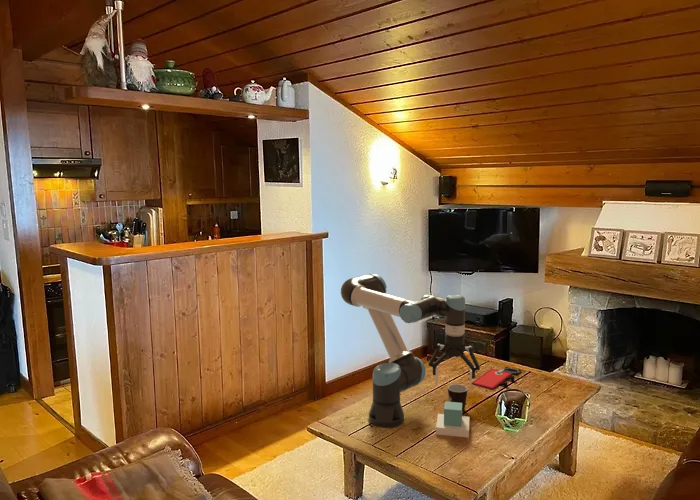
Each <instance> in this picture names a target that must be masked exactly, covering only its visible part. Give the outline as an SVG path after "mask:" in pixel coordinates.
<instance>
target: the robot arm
mask: <svg viewBox="0 0 700 500" xmlns="http://www.w3.org/2000/svg"><path fill="white" fill-rule="evenodd" d="M340 296H341V298H342V300H343V301H344V302H345V303H347V304H348V305H350V306H354V307H357V308H360V307H362V308H363V309H365V310H367V311H368V314H369V316H370V317H371V319H372V322H373V324H374V326H375V329H376V330H377V333H378V335H379V337H380V339H381V342H382V344H383V346H384V348H385V351H386V352H387V355H388V357H389V360H388V362H382V363H380V364H378V365H376V366H375V367H374V369H373V371H372V380H371V381H372V403H371V406H370V408H369V412H368V420H369V422H370V423H371V425H374V426H376V427H380V428H394V427H398V426H401V425H402V424H403V423H404V422H405V412H404V409H403V406H402V404H401V393H402V392H404V391H407V390H409V389H411V388H414V387H416V386H418V385H419V384H421V383H422V382H423V381H424V380H425V377H426V374H427V373H426V372H427V371H426V366H425V363H424V362H423V360H422V359H420V358H419V357H417V356H415V355H414V352H412V351H410V350H408V348H407V346H406V344H405V342H404V339H403V337H402V335H401V334H400V331H399V329H398V326H397V325H396V323H395V320H394V318H393V317H392V316H395V317H398V318H400V319H401V320H402V321H403V322H404V323H406V324H412V323H413V324H414V323H417V322H419V321H423V320H426V319H428V318H431V317H434V316H438V317H441V318H445V331H444V332H445V337H444V344H441V343H437V346H436V349H435V351H434V352H433V354H432V356H431V358H430V359H429V361H428V367H431V368H432V375H433V376H435V377H434V378H435V379H434V380H435V382H434V383H435V385H437V384H438V381H439V379H438V378H439V376H438V375H439V365H440V364H441V363H442V362H443V361H444V360H445V359H446V358H447V357H454V358H458V357H460V358H461V359H462V360H463V361H464V363H465V364H466V365H467V366H468V368H469V369H470V370H469V388H472V385H473V384H472V382H473V379H475V378H476V371H480V369H481V367H480V364H479V362H478V360H477V357H476V355H475V354H474V351H473V346H472V345H469V346H465V332H466V331H465V330H466V327H465V326H466V323H465V322H466V321H465V320H466V319H465V318H466V298H465V296H463V295H460V294H448V295H447V296H446V297H440V296H437V295H434V294H424V295H423V296H422V297H421V298H420V299H419V300H416V301H415V300H410V299H406V298H403V297H399V296H395V295H392V294H388V293H387V284H386V281H385V280H384V278H383V277H382V276H380V275H379V274H376V273H371V274H370V273H368V274H365V275H360V276H355V277H351V278H349V279H346V280H345V281H344V283H342V285H341V287H340ZM443 349H444V353H442V355H440V357H439V358H437V356H438V355H439V353H440V351H442V350H443ZM465 351H466V352H467V353H469V356H470V358H471V360H472V362H473V363H472V362H471V360H470V359H469V358H468V357H467V356H466V354H465V353H464V352H465ZM436 358H437V360H436ZM435 360H436V361H435ZM434 361H435V362H434Z"/></svg>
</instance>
